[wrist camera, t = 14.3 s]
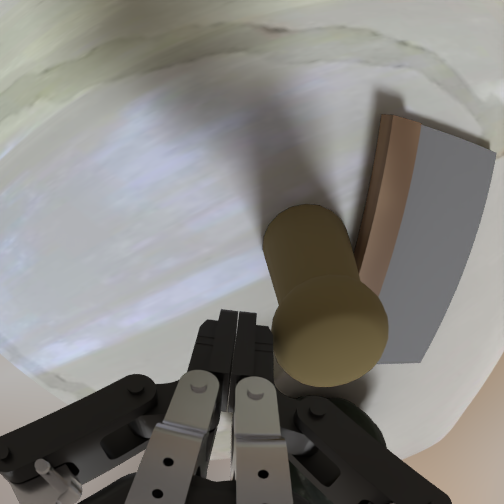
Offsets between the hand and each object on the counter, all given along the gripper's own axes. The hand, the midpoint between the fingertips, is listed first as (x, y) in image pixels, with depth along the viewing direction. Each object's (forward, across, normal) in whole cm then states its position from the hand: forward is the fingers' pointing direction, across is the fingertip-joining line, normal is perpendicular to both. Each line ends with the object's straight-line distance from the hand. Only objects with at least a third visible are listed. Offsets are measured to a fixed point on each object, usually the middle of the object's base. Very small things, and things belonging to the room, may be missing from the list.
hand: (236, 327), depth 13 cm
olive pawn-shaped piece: (+10, -4, 0) cm, 10 cm away
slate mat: (+9, -14, 0) cm, 16 cm away
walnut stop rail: (+9, -8, 0) cm, 13 cm away
